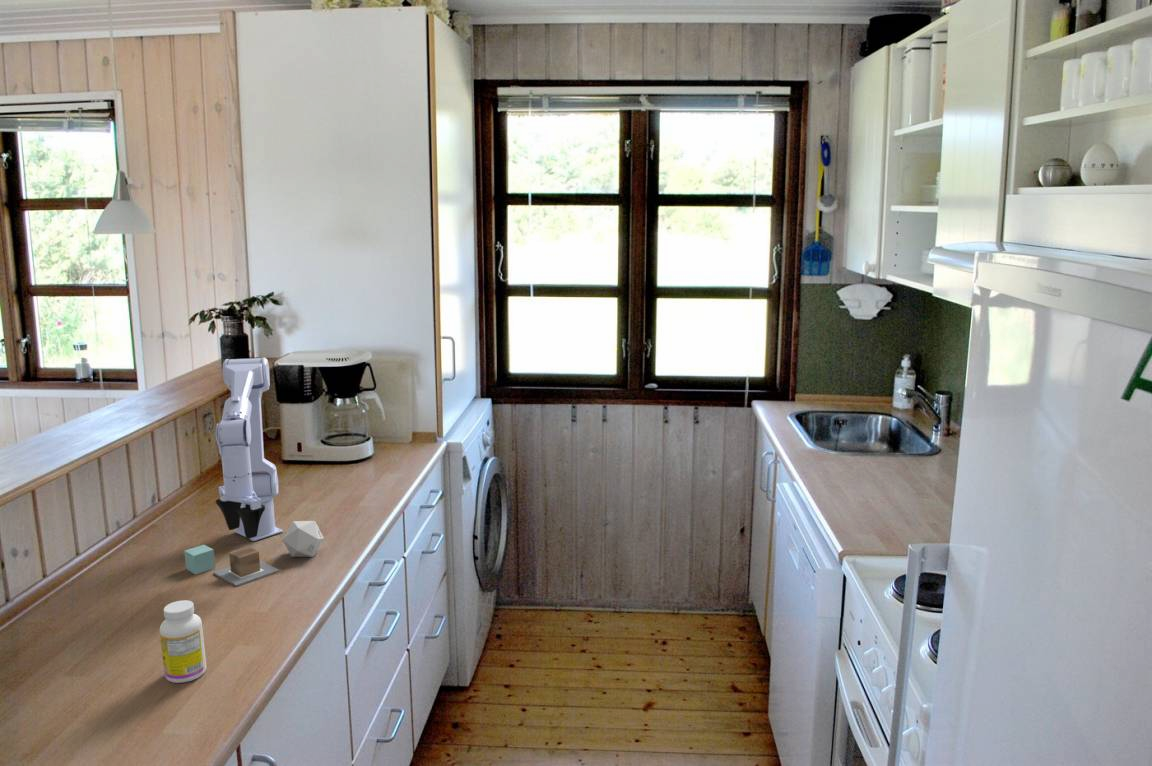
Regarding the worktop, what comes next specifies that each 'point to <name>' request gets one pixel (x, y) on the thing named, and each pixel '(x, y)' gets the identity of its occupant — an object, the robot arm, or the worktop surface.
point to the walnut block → (244, 561)
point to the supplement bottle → (182, 643)
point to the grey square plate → (238, 580)
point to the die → (303, 539)
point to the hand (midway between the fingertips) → (242, 532)
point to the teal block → (199, 559)
